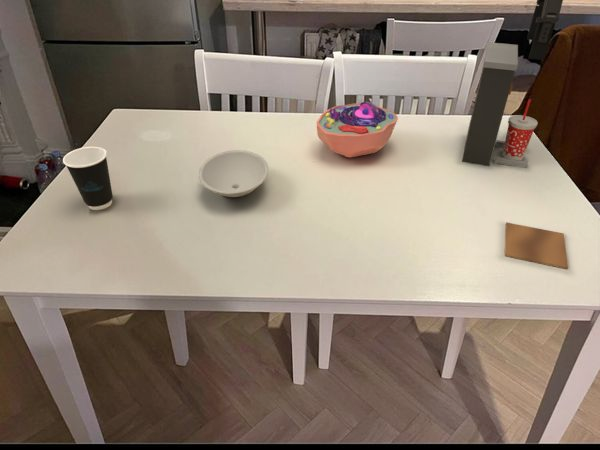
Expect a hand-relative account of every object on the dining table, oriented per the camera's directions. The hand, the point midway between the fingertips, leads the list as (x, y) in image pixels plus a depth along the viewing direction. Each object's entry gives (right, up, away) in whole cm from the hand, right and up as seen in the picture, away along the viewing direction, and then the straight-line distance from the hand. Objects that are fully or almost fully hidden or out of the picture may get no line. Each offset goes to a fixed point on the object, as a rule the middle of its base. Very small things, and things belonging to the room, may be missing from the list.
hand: (534, 48), depth 93 cm
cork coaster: (-5, -39, -10) cm, 41 cm away
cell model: (-34, -17, +20) cm, 43 cm away
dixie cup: (-88, -31, +2) cm, 94 cm away
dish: (-61, -28, +6) cm, 67 cm away
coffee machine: (-1, -18, +18) cm, 26 cm away
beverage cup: (+3, -19, +17) cm, 26 cm away
